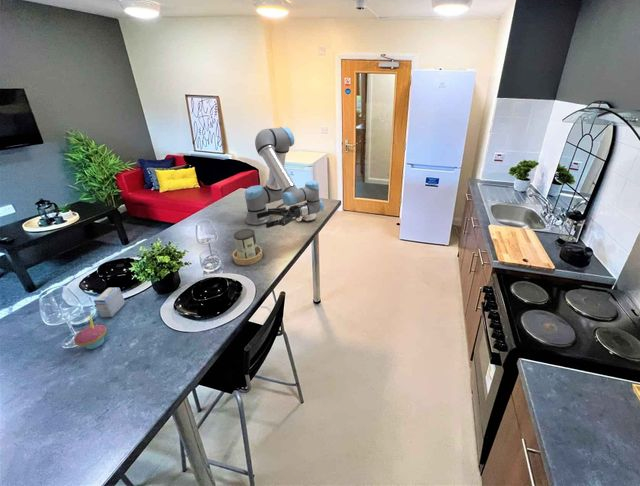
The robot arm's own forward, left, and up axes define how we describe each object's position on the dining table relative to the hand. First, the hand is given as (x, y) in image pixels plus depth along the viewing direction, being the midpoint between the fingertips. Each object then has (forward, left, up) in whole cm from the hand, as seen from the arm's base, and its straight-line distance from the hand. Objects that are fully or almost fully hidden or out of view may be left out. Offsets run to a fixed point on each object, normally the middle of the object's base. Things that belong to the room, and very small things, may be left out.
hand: (261, 220), depth 153 cm
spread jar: (-43, +2, -20) cm, 47 cm away
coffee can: (+8, -6, -19) cm, 21 cm away
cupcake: (+72, -22, -20) cm, 78 cm away
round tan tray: (+8, -6, -19) cm, 22 cm away
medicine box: (+58, -33, -20) cm, 69 cm away
